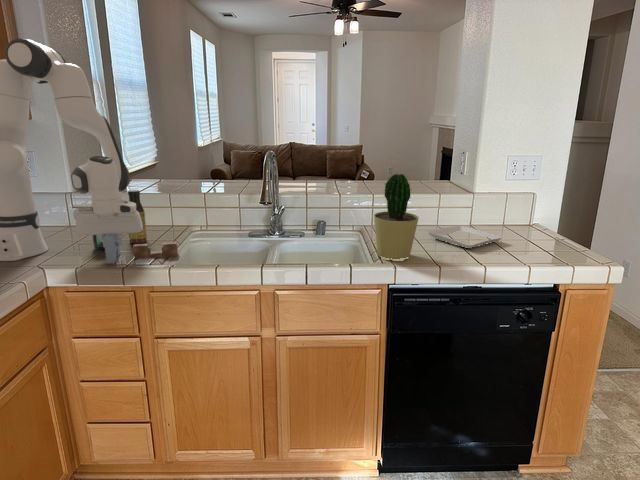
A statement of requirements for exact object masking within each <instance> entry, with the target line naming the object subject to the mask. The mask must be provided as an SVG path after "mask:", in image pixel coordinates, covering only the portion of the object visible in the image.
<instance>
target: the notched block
mask: <svg viewBox="0 0 640 480" xmlns="http://www.w3.org/2000/svg"><path fill="white" fill-rule="evenodd" d="M132 247H133V256H134V258H133V259H135V260H141V259H140V258H142V259H153V258H154V259H155V258H156V259H157V258H167V257H168V258H170V257H178V256H179V252H178V242H177V241H169V242H168V241H167V242H163V243H162V245H161V250H158V251H156V250H155V251H151V246H150V245H149V243H133V246H132Z"/></svg>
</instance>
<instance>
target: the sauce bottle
mask: <svg viewBox="0 0 640 480" xmlns="http://www.w3.org/2000/svg"><path fill="white" fill-rule="evenodd" d="M140 194H141V191H140V190H138V189H129V190H128V191H127V195H128V201H130V202H134V203H136V210H137V211H138V212H139V214H140V216H141V220H142V226H143V229H142V231H141V232H139V233H128V238H129V242H130V243H131V244H144V243H146V241H147V237H148V236H147V227H146V226H147V225H146V224H147V223H146V213H145V209H144V207H143V205H142V202H141V199H140V197H141V196H140Z"/></svg>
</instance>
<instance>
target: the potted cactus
mask: <svg viewBox="0 0 640 480" xmlns="http://www.w3.org/2000/svg"><path fill="white" fill-rule="evenodd" d="M383 184H384V190H383V192H384V193H383V195H382V196H384V198H385V201H386V204H385V207H386V208H387V210H385V211H380V212H376V213H374V214H373V220H374V222H373V223H374V230H375V244H376V253H377V254H378V255H380V256H382V257H385V258H392V259H400V258H406V257H409V256H411V252H412V247H413V243H414V239H415V235H416V231H417V227H418V223H419V216H418V215H417V214H413V213H411V212H408V211H407V209H408V204H409V202H410V200H411V193H412V191H411V190H412V189H413V188H411V183H410V182H409V180H408V178H407V176H406V175H405V174H403V173H399V174H397V173H395V174H392V175H391V177H388V178H387V180H386V182H383ZM377 254H376V255H377ZM378 255H377V256H378ZM409 258H410V257H409Z"/></svg>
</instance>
